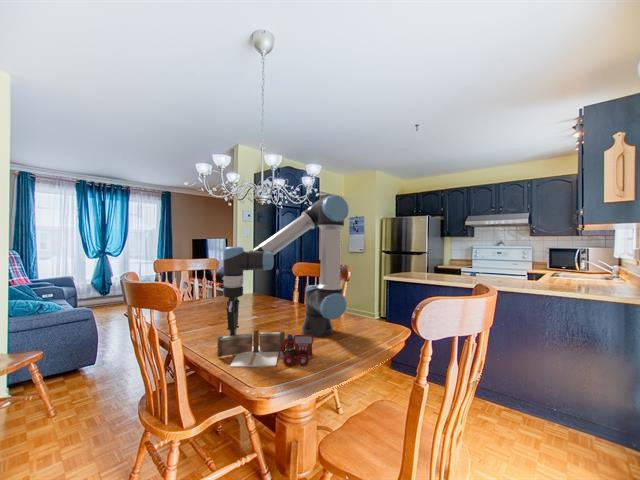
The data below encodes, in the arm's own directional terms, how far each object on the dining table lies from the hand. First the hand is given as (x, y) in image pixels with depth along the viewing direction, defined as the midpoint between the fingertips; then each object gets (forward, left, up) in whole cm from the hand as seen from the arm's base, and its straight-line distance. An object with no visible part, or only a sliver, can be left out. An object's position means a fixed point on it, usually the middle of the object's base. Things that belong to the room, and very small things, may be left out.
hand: (232, 345), depth 114 cm
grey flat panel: (-1, +3, -2) cm, 4 cm away
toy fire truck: (-25, +10, -3) cm, 27 cm away
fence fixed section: (-14, 0, -3) cm, 14 cm away
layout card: (-10, +4, -3) cm, 11 cm away
